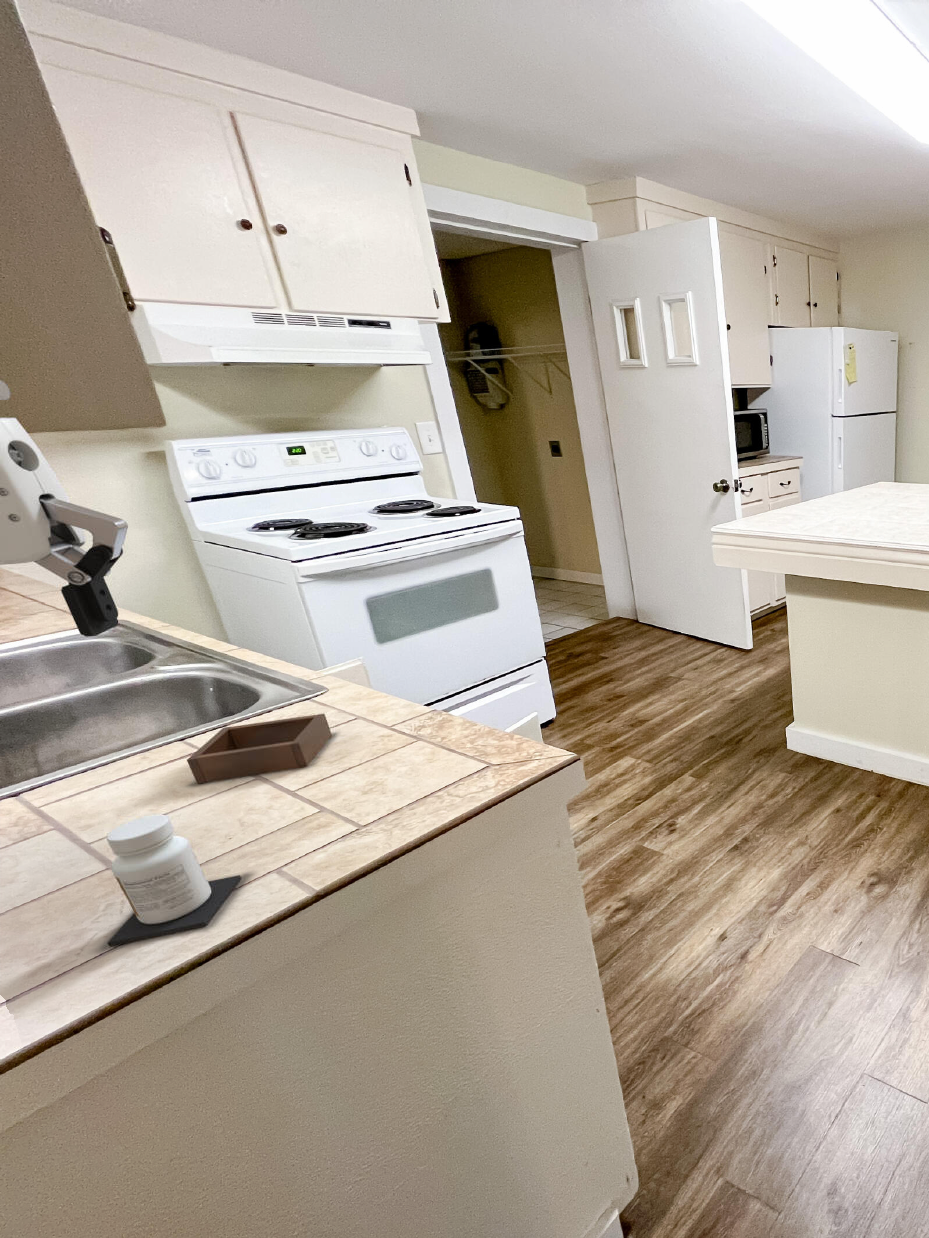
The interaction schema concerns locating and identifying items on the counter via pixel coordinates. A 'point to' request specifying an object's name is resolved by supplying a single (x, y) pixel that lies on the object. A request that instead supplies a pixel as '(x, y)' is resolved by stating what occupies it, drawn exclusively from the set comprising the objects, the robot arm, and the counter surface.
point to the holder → (260, 748)
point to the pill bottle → (157, 870)
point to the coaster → (194, 919)
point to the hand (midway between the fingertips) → (19, 638)
